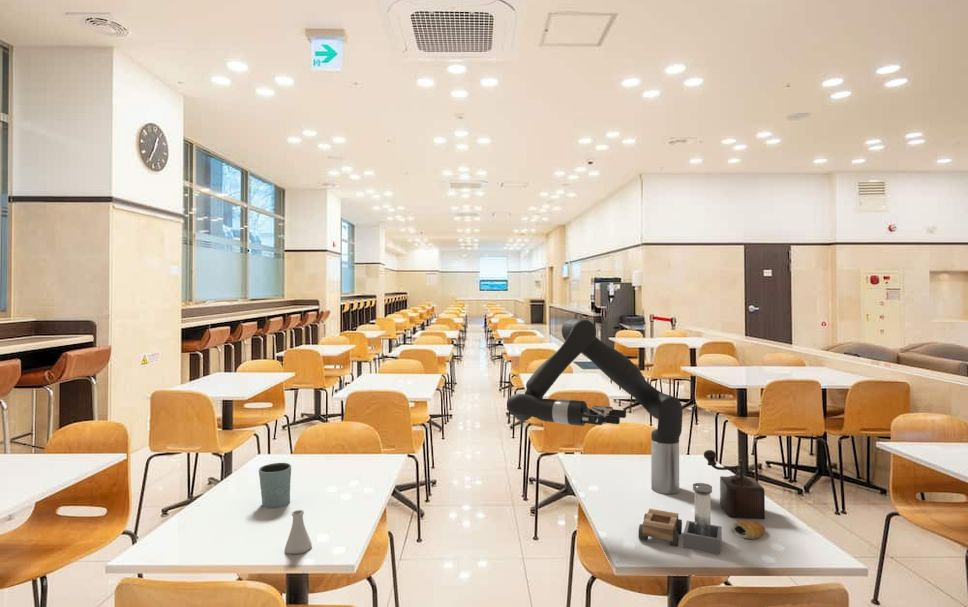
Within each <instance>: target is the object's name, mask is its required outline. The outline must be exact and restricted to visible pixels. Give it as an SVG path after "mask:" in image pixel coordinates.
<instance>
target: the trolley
mask: <svg viewBox="0 0 968 607" xmlns="http://www.w3.org/2000/svg"><path fill="white" fill-rule="evenodd" d="M643 516H644V517H643V522H642V524H641V523H640V524H639V526H638V540H641V541H646V542H647V541H648V538H655V539H660V540H665V541H668V545H669V546H673V547H675V548H676V547H679V539H680V538H679V536H680V535H682V532H683V531H682V530H683V520H682V519H680V518H679V513H678V512H672V511H667V510H661V509H660V510H659V509H653V508H648V511H647V513H645V514H644V515H643Z"/></svg>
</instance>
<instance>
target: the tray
mask: <svg viewBox="0 0 968 607" xmlns="http://www.w3.org/2000/svg"><path fill="white" fill-rule="evenodd" d="M710 526H711V537H708V536H702V535H697V534H695V521H692V520H686V523H685V527H684V529H683V538H682V539H683V542H682V545H683V549H685V550H686V549H687V550H691V551H697V552H703V553H706V554H707V553H708V554H712V555H718V556H720V555H721V550H722V543H723V536H722V535H723V534H722V530H723V526H721V525H715V524H710Z"/></svg>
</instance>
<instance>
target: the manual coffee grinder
mask: <svg viewBox="0 0 968 607" xmlns="http://www.w3.org/2000/svg"><path fill="white" fill-rule="evenodd" d="M703 457H704V459H706V460H707V465H708V466H711V467H712V468H714V469H715V470H718V471H719V470H720V471H729V470H737V469H739V471H736V472H735V474H734V475H729V476H720V477H719V506H720V508H721V509H722V510H723V512H724V513H725V514H726V516H727V517H729V518H731V519H743V520H765V519H766V516H765V515H766V514H765V513H766V510H765V509H766V506H765V504H766V502H765V500H766V499H765V494H766V493H765V488H764V487H763V486H762V485H761V484H760V483H759V482H758V481H757V480H756V479H755V478H753V477H750V476H746V475H745V474H744V467H745V464H744V462H745V460H743V459H742V458H741V459H739V463H738V464H737V465H734V466H733V465H732V466H723V467H722V466H717V464H718V462H716V458H717V453H716V452H715V451H714V450H712V449H708V450H705V451H704V452H703Z"/></svg>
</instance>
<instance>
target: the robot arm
mask: <svg viewBox="0 0 968 607" xmlns="http://www.w3.org/2000/svg"><path fill="white" fill-rule="evenodd" d="M561 336H562V338H563V340H564V342H563V344H562V345H561V346H560V347H559V349H557V351H555V352H554V353H553V354H552V355H551V356H550V357H548V358H547V359H546V360H545V361H544V362H543V363H542V364H540V366H538V367H537V369H536V370H535V371H534V372H533V374H532V375H531V376H530V377H529V379H528V380H527V381H526V384H525V388H526V390H525V392H524V393H516V394H515V393H514V394H512V395H511V396H510V397H509V398H508V399H507V401H506V408H507V410H508V412H509V413H510V414H511V415H512V416H513V417H514V418H516V420H518V421H521V422H527V421H528V420H530V419H531V418H535V419H538V420H540V421H543V422H548V423H550V422H551V423H558V424H561V425H562V424H563V425H569V426H570V425H571V426H579V427H584V426H585V425H586V424H589V425H599V426H602V425H606V424H612V425H619V424H620V422H621V421H620V420H621V419H626V418H627V411H626V410H624V409H614V407H613V406H603V405H602V406H601V405H598V406H597V405H594V406H592V407H588V405H587V402H586V401H584V400H578V399H577V400H575V399H565V398H563V399H554V398H553V399H552V398H544V396H545V395H546V394H547V392H548V391H549V390H550V388H551V387H552V386H553V385H554V383H555V382H556V381H557V379H558V378H559V377H560V376H561V375H562V374H563V372H565V370H566V369H567V368H568V367H569V366H570V365H571V363H573V362H574V361H575V359H577V358H578V356H580V354H583V355H584V356H585V357H587V358H588V359H589V360H590V361H591V362H592V363H593V364H594V365H595V366H596V367H597V368H598V369H599V370H600V371H601V372H602V373H604V374H605V375H606V376H607V378H609V379H610V380H611V381H612V382H613V383H615V384H616V385H617V386H618V387H619V388H621V390H624V391H625V392H626V393H628V395H630V396H632V397H633V398H634V399H635V400H636V401H637V402H638V403H639V404H640V405H641V406H642V407H643V408H644V410H645V411H646V412H647V413H648V414H649V415H650V416H652V417H653V418H654V419H657V428H656V429H653V430H652V431H651V433H650V434H651V436H650V437H651V439H650V440H651V442H650V444H651V445H650V447H651V448H650V449H651V455H650V456H651V457H650V458H651V459H650V461H651V465H650V466H651V470H650V471H651V478H650V481H651V482H650V483H651V484H650V485H651V488H650V489H651V490H653V491H654V492H657V493H659V494H664V495H665V494H666V495H673V494H677V493H679V492H680V437H681V434H682V429H683V405H682V403H681V401H680V400H679V399H678V398H677V397H676V396H673V395H669V394H667V393H664V392H661V391H660V390H658V389H657V388H655V387H654V386H653V385H652V384H650V383H649V382H648V381H647V380H646V378H645V377H644V375H643V373H642V371H641V370H640V368H639V367H638V365H636V364H635V363H634V362H633V361H631V359H629V358H628V357H627V356H625V354H623V353H622V352H620V351H618V350H616V349H615V348H613V347H611V346H610V345H608V344H606V343H605V342H603V341H601V340H600V338H598V337H597V329H596V326H595V324H594V323H593V322H592V321H591V320H588V319H583V318H570V319H568V320H566V321H565V322H564V323H563V325H562V326H561Z"/></svg>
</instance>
